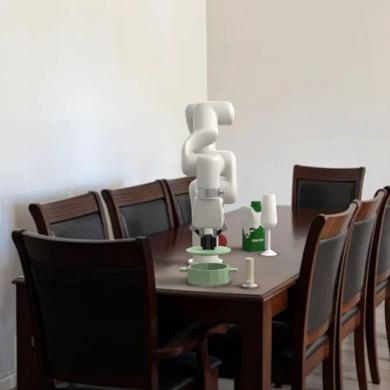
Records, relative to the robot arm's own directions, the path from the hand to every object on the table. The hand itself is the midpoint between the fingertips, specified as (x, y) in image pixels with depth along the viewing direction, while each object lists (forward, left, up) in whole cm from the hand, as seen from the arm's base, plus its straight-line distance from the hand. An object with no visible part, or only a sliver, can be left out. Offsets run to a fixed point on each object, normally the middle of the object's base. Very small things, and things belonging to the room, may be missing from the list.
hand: (208, 248), depth 257 cm
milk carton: (-62, +9, -12) cm, 64 cm away
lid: (0, 0, -1) cm, 1 cm away
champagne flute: (-52, +16, -12) cm, 56 cm away
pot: (0, 0, -11) cm, 11 cm away
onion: (-57, -4, -12) cm, 58 cm away
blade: (+6, +14, -11) cm, 19 cm away
